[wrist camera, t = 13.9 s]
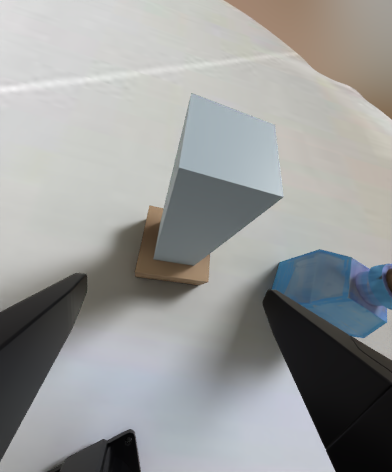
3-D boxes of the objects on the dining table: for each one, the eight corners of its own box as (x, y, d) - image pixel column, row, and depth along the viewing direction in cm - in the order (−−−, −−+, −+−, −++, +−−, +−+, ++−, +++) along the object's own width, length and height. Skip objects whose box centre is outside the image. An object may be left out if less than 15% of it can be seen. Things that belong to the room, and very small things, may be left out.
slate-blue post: (193, 265, 18) (283, 196, 7) (153, 259, 17) (179, 167, 6) (197, 229, 19) (275, 124, 8) (160, 221, 19) (191, 92, 7)
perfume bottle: (308, 330, 22) (464, 351, 12) (266, 304, 22) (388, 302, 11) (316, 285, 25) (448, 269, 14) (279, 262, 25) (386, 227, 14)
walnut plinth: (199, 285, 20) (208, 281, 18) (135, 276, 19) (134, 271, 16) (203, 229, 23) (212, 219, 20) (148, 218, 22) (149, 205, 19)
